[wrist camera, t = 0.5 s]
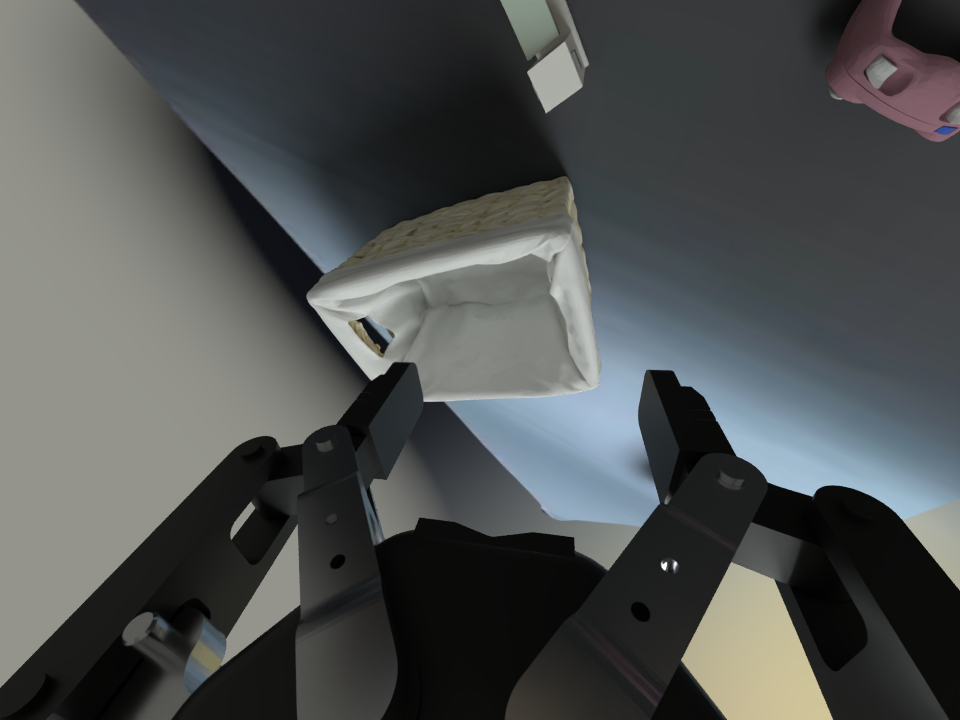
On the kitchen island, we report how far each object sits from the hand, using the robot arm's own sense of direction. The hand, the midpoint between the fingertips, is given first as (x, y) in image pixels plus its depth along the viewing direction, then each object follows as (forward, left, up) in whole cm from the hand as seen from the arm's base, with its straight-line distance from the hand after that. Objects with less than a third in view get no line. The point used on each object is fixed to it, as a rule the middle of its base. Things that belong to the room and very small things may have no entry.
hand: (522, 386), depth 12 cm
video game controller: (+6, +21, -28) cm, 35 cm away
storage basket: (+5, -13, -28) cm, 31 cm away
